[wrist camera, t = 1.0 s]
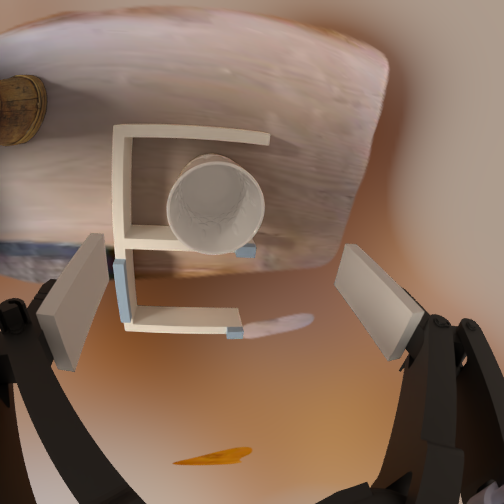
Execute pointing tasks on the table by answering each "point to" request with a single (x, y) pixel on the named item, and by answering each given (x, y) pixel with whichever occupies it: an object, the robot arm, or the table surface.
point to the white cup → (215, 205)
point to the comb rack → (163, 237)
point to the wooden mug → (21, 108)
